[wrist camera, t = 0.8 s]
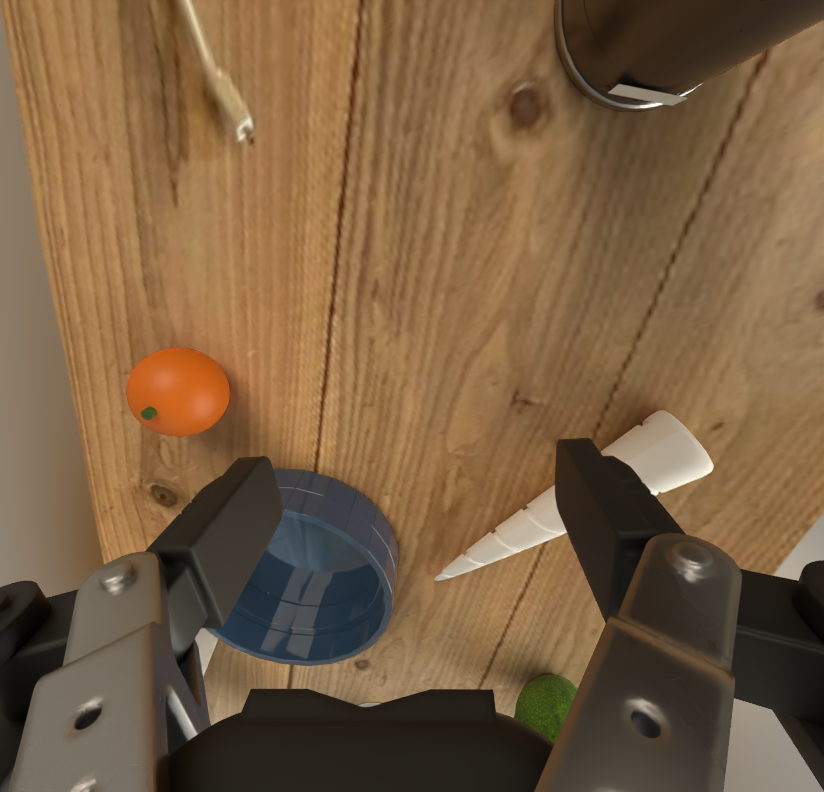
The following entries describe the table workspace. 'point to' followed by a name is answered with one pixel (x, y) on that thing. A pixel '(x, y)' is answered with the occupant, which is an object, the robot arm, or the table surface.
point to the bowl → (317, 577)
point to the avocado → (545, 704)
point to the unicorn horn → (639, 448)
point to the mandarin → (178, 392)
